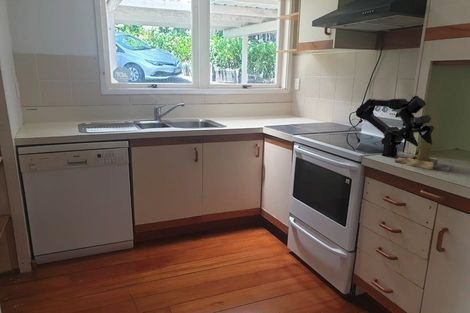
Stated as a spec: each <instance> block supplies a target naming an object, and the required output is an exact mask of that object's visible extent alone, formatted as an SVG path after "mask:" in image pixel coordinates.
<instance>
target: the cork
mask: <svg viewBox="0 0 470 313" xmlns="http://www.w3.org/2000/svg"><path fill="white" fill-rule="evenodd" d="M418 149H419V151H418V154H417V155H416V156H417V160H420V161H426V162H429V158H430V150H431V149H432V145H431V144H430V143H427V142H426V141H423V142H420V143H419V144H418Z"/></svg>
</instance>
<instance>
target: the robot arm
mask: <svg viewBox="0 0 470 313" xmlns="http://www.w3.org/2000/svg"><path fill="white" fill-rule="evenodd" d="M426 105H427V103H426V101H425V99H423V98H421V97H419V95H413V97H412V98H411V99H410V100H407V98H391V99H382V98H381V99H379V98H368V99H367V100H366V101H365V102H364V103H362V104H361V105H360V106H359V107H357V108H356V110H355V115H356V116H355V117H357V118H359V119H361V120H363V121H367V122H368V123H369V124H371V125H372V126H373V127H374V128H375V129H377V130H378V131H379V132H381V133H382V134H383V138H382V139H381V140H380V141H381V145H383V150H382V154H381V156H384V157H390V158H396V157H398V155H399V147H398V146H399V145H401V144H402V142H403V140H405V141H407V142H409V143H410V144H412V145H413V146H414V147H419V144H418V141H417V139H416V138H415V135H414V134H415V133H416V134H419V136H420V138H422V139H423V140H424V142H427V143H430V144H431V146H432V145H433V141H432V132H434V130H436V129H435V127H434V125H431V124H429V123H430V122H431V121H432V117H431V116H430V115H429V114H425V115H421V116H415V115H414V114H417V113H418V112H421V110H422V109H423V108H425V106H426ZM376 107H383V108H388V109H390V110H394V111H397V112H396V114H395V116H394V117H395V118H400V119H401V121H402V127H401V128H399V127H398V126H389V125H388V124H387V123H385V122H384V121H383V120H381V119H380V118H379V117H377V116H376V115H375V114H374V111H375V108H376ZM398 110H399V111H398ZM427 123H428V124H429V125H428V124H427ZM424 124H427V125H424Z"/></svg>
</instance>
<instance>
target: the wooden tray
mask: <svg viewBox="0 0 470 313" xmlns="http://www.w3.org/2000/svg"><path fill="white" fill-rule="evenodd" d="M417 156H418V155H412V156H410V157H408V158H407V157H401V156H399V157H397V158H395V159H394V163H397V164H403V165H406V166H410V167H416V168H422V169H427V170H428V169H429V170H436V171H442V172H449V171H450V170H451V169H452V165H448V164H443V163H439V159H438V158H432V157H429V162H426V161H420V160H417Z"/></svg>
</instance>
